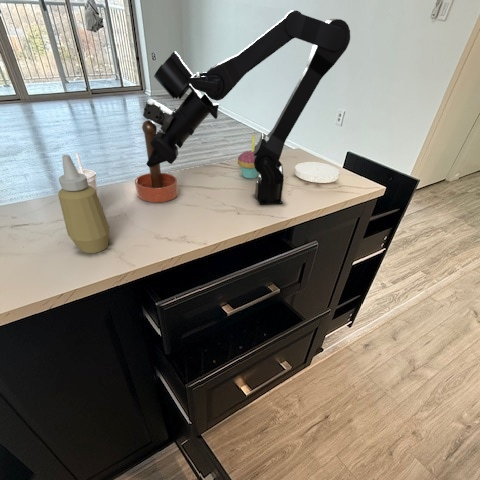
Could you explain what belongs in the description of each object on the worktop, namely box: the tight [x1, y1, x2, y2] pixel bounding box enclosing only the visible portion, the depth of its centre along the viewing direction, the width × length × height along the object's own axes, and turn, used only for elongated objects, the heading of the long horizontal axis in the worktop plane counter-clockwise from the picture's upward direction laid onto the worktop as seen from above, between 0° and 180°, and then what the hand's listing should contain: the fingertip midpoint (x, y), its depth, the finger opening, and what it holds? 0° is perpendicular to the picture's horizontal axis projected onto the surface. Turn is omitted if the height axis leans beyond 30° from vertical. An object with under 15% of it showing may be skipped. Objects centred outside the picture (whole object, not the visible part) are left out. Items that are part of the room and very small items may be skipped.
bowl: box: [134, 172, 179, 204], centre depth 86 cm, size 11×11×4 cm
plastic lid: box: [294, 161, 340, 184], centre depth 102 cm, size 14×14×2 cm
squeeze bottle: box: [57, 154, 111, 254], centre depth 61 cm, size 8×8×18 cm
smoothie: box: [74, 152, 99, 197], centre depth 73 cm, size 6×6×14 cm
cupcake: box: [237, 131, 260, 179], centre depth 97 cm, size 9×8×12 cm
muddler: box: [141, 119, 165, 188], centre depth 82 cm, size 4×4×17 cm
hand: (149, 163), depth 83 cm, fingers closed on muddler, 3 cm apart
